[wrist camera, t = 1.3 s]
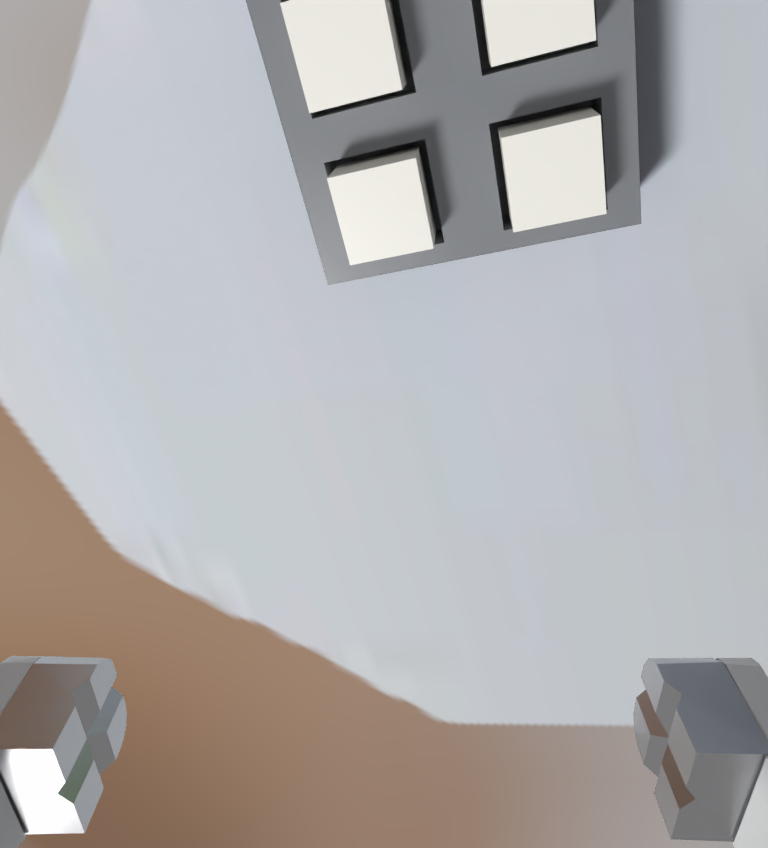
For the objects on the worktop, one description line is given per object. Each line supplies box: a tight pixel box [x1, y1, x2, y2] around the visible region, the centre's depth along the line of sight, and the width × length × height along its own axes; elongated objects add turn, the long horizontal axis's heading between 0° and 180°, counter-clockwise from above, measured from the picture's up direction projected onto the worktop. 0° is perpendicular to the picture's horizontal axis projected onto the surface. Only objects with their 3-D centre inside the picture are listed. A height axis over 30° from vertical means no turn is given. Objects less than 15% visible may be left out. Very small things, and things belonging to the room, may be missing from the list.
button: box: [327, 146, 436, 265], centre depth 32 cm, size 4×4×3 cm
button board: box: [246, 0, 641, 285], centre depth 32 cm, size 16×14×4 cm
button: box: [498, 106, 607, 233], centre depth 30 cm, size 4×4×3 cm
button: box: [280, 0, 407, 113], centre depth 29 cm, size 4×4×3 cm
